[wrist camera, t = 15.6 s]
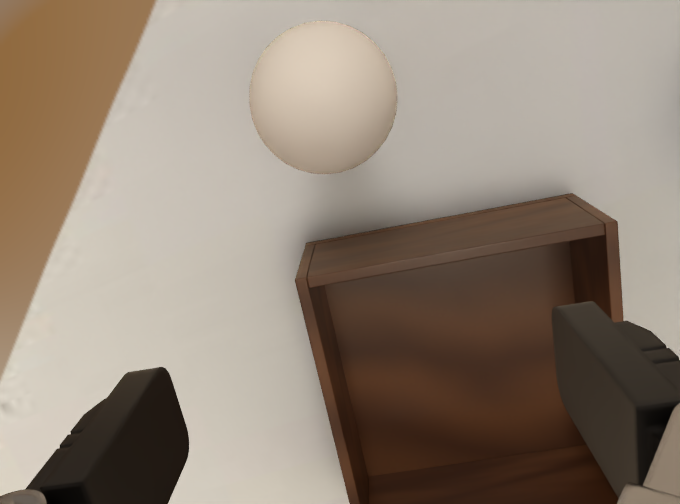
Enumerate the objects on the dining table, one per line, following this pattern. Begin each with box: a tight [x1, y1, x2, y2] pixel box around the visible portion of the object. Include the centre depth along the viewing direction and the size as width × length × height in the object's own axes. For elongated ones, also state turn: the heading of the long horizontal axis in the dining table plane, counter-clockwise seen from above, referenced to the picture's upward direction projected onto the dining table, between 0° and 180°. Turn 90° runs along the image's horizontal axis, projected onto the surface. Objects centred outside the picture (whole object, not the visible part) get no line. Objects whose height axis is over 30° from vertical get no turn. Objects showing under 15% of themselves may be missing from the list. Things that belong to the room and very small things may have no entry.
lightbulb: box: [250, 21, 397, 174], centre depth 26 cm, size 6×6×11 cm
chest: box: [295, 193, 623, 504], centre depth 33 cm, size 17×16×6 cm
